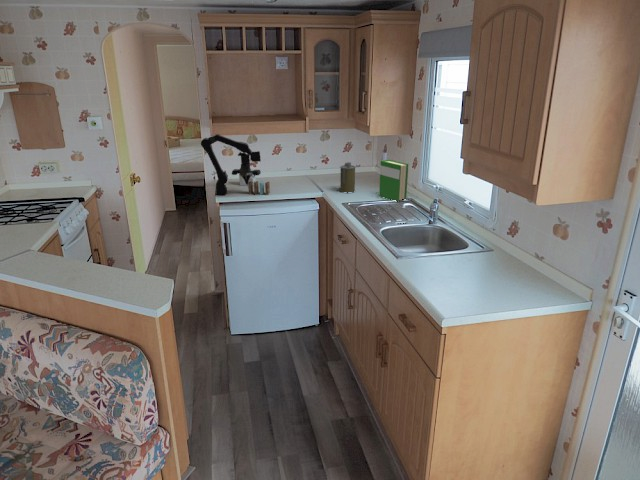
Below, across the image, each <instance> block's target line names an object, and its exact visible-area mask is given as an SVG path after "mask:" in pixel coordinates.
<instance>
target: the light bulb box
mask: <svg viewBox="0 0 640 480" xmlns="http://www.w3.org/2000/svg"><path fill="white" fill-rule="evenodd" d="M254 170H255V169H251V170H250V171H254ZM238 177H239V179H238V180H239V185H240V186H246V187H247V186H248V185H246V183H245V180H244V178H243V177H242V176H240V173H238ZM250 181H253V187H254V182H256V175H252V176H251V177H250V179H249V182H250ZM249 182H248V183H249Z"/></svg>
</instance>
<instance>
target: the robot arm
mask: <svg viewBox="0 0 640 480" xmlns="http://www.w3.org/2000/svg"><path fill="white" fill-rule="evenodd" d="M216 142H220V143H222V144H225V145H228V146H230V147H233V148H235V149H237V150H238V151H239V153H237V156H238V157H240V168H239V169H238V168H234V169H233V170H231V175H232V176H236V175H238V174H239V173H240V176H242V177H243V178H244V180H245V183H246V185H248V182H249V179H250V177H251V176H252V175H255V176H260V175H261V170H260V169H253V170H254V171H250V170H252V168H251V162H250V161H252V162H253V163H255V162H256V163H257V162H260V163H261V152H260V151H258V150H257V151H252V150H251V148H250V146H249V144H248V143H247V142H244V141H237V140H233V139H231V138H228V137H226V136H224V135H221V134H219V133H217V134H215V135H213V136H209V137H204V138H202V140H201V142H200V146H201V147H202V149H203V150H204V151H205V152H206V153H207V156H208V157H209V159H210V161H211V164H212V166H213V168H214V170H215V172H216V176H217V180H216V182H215V196H226V195H227V194H228V187H227V185H226V184H227V183H228V179H229V175H228V174H227V171H226V170H223V169H222V167H221V165H220V163H219V161H218V158H217V156H216V154H215V152H214V150H213V149H214V148H213V144H214V143H216ZM225 194H226V195H225Z"/></svg>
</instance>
